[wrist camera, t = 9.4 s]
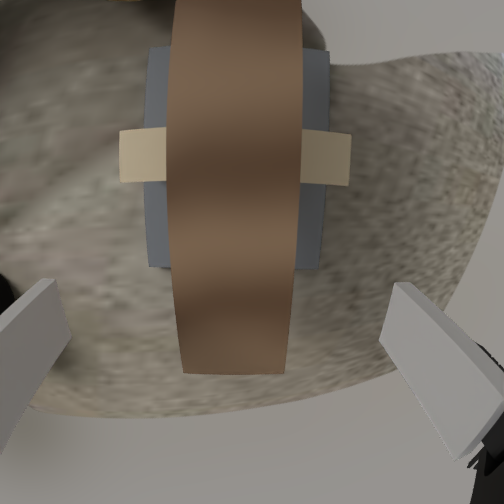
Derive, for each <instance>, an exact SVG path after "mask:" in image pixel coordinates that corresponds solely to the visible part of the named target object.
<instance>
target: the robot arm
mask: <svg viewBox="0 0 504 504" xmlns="http://www.w3.org/2000/svg"><path fill="white" fill-rule="evenodd" d="M71 338H72V336H71V332H70V329H69V326H68V323H67V320H66V316H65V313H64V309H63V306H62V302H61V298H60V294H59V290H58V286H57V282H56V279H46V278H42V279H41V280H39V281H38V282H37V283H36V284H35V285H33V286H32V287H31V288H30V289H29V290H28V291H26V292H25V293H24V294H23V295H22V296H21V297H20V298H19V299H17V300H16V301H15V302H14V303H13V304H12V305H11V306H10V307H9V308H8V309H6V310H5V311H4V312H3V313H2V314H1V315H0V454H2V452H3V450H4V448H5V446H6V444H7V442H8V440H9V438H10V436H11V434H12V432H13V431H14V429H15V427H16V425H17V423H18V422H19V420H20V418H21V416H22V414H23V413H24V411H25V409H26V408H27V406H28V404H29V402H30V401H31V399H32V397H33V396H34V394H35V393H36V391H37V389H38V388H39V386H40V384H41V383H42V381H43V380H44V378H45V377H46V375H47V373H48V372H49V370H50V369H51V367H52V366H53V364H54V363H55V361H56V360H57V358H58V357H59V355H60V354H61V352H62V351H63V350H64V348H65V347H66V345H67V344H68V342H69V341H70V339H71ZM379 342H380V343H381V344H382V346H383V347H384V349H385V350H386V352H387V353H388V355H389V356H390V358H391V359H392V361H393V362H394V364H395V365H396V367H397V369H398V370H399V372H400V373H401V375H402V376H403V378H404V379H405V381H406V382H407V384H408V385H409V387H410V389H411V390H412V391H413V393H414V395H415V396H416V398H417V400H418V401H419V403H420V405H421V406H422V408H423V409H424V411H425V413H426V414H427V416H428V417H429V419H430V421H431V423H432V424H433V426H434V428H435V429H436V431H437V433H438V434H439V436H440V438H441V439H442V441H443V443H444V445H445V446H446V448H447V450H448V452H449V453H450V455H451V457H452V459H453V461H456V460H458V459H460V458H462V457H464V456H465V455H468V454H469V453H471V452H472V451H473V450H474V449H475V447H476V446H477V445H478V444H479V443H480V442H481V441H482V442H483V444H484V447H483V448H482V449H481V450H480V451H479V452H478V454H477V455H476V456H475V457H474V458H473V459H472V460H471V461H470V462H469V464H468V466H467V468H470V467H471V466H472V465H473V464H474V463H475V462H476V461H477V460H478V459H479V460H478V463H477V464H476V465H475V467H474V468H473V469H476V470H477V473H476V478H475V484H474V488H473V494H472V498H471V501H470V504H504V368H503V367H502V366H501V365H498V362H497V361H496V360H495V359H494V358H493V357H491V355H490V354H489V353H488V352H487V351H486V349H485V348H484V347H483V346H481V345H479V344H477V343H476V342H474V341H473V340H472V339H471V338H470V337H469V336H468V335H467V334H466V333H465V332H464V331H463V330H462V329H461V328H460V327H459V326H458V325H457V324H456V323H455V322H453V321H452V320H451V319H450V318H449V317H448V316H447V315H446V314H445V313H444V312H443V311H442V310H441V309H440V308H439V307H437V306H436V305H435V304H434V303H433V302H432V301H431V300H430V299H429V298H428V297H426V296H425V295H424V294H423V293H422V292H421V291H420V290H419V289H417V288H416V287H415V286H414V285H413V284H412V283H411V282H394V286H393V290H392V294H391V298H390V302H389V306H388V310H387V314H386V317H385V321H384V324H383V328H382V331H381V335H380V338H379Z"/></svg>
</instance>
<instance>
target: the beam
mask: <svg viewBox="0 0 504 504" xmlns="http://www.w3.org/2000/svg"><path fill="white" fill-rule="evenodd" d="M302 106H303V41H302V4H301V0H176V4H175V12H174V20H173V29H172V38H171V49H170V61H169V75H168V93H167V120H166V188H167V216H168V235H169V251H170V264H171V276H172V287H173V297H174V306H175V315H176V323H177V331H178V339H179V346H180V353H181V360H182V367H183V373H190V374H220V375H255V374H284V370H285V361H286V353H287V344H288V334H289V325H290V315H291V304H292V294H293V282H294V270H295V257H296V244H297V229H298V213H299V195H300V174H301V148H302Z"/></svg>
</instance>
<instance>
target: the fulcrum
mask: <svg viewBox="0 0 504 504" xmlns="http://www.w3.org/2000/svg"><path fill="white" fill-rule="evenodd" d="M170 49H171V46H163V47H154V48H149V57H148V67H147V79H146V93H145V111H144V129H134V130H125V131H120V143H119V164H120V183H125V182H144V205H145V224H146V239H147V252H148V263H149V267H171V264H170V251H169V235H168V216H167V188H166V120H167V93H168V75H169V61H170ZM329 57H330V55H329V51H323V50H316V49H309V48H303V106H302V148H301V174H300V195H299V213H298V229H297V244H296V257H295V269H318V267H319V259H320V250H321V240H322V230H323V219H324V207H325V194H326V184H328V185H340V186H349V174H350V157H351V136H352V135H350V134H343V133H335V132H329V109H330V58H329Z"/></svg>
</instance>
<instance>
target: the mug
mask: <svg viewBox="0 0 504 504" xmlns="http://www.w3.org/2000/svg"><path fill="white" fill-rule="evenodd" d="M14 302H15V301H14V297H13V294H12V291H11V289H10V287H9V285H8V284H7V282H6V281H5V279H4V278H3V277H2V276H1V275H0V315H1V314H2V313H3V312H4V311H5V310H6V309H8V308H9V307H10V306H11V305H12V304H13V303H14Z"/></svg>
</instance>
